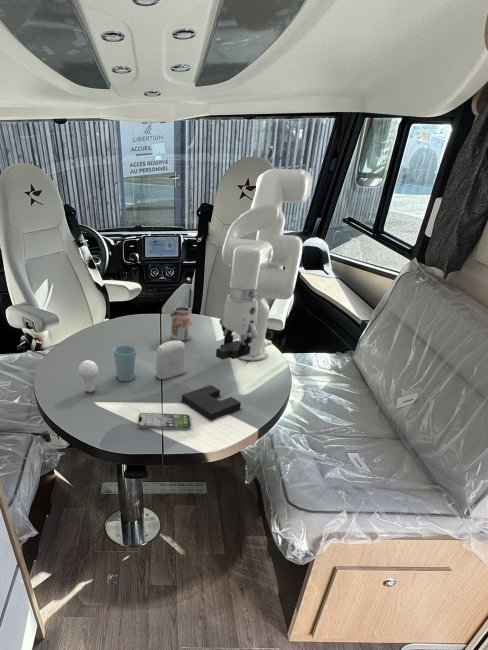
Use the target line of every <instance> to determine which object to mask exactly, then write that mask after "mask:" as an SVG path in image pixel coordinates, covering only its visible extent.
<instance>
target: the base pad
mask: <svg viewBox="0 0 488 650" xmlns="http://www.w3.org/2000/svg"><path fill="white" fill-rule="evenodd" d="M220 394H221V390H220V389H219V388H217V387H215V386H214V385H212V384H209V385H205V386H203V387H201V388H197V389H193V390H191V391H189V392H186V393H183V394H181V403H183V404H184V405H186V406H188V407H189V408H190V409H192V410H193V411H195V412H196V413H198V414H199V415H201V416H202V417H204V418H205V419H207V420H208V421H210V422H212V421H214V420H218V419H220V418H222V417H225V416H227V415H229V414H232V413H235V412H237V411H240V410H241V404H242V402H241V401H240V400H238V399H236V398H234V397H233V396H228V397H227V398H224V399H220V400H219V399H217V398H219V397H220V396H221V395H220Z"/></svg>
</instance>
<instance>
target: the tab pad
mask: <svg viewBox="0 0 488 650" xmlns="http://www.w3.org/2000/svg"><path fill="white" fill-rule="evenodd" d="M240 344H242V343H241V342H240V341H239V339H237V340H236V339H235V340H233V342H230V343H226V344H224V343H223V344H220V347H218V348H216V350H215V357H216V358H218V359H219V360H226V359H231V360H235V359H239V358H238V357H239V356H238V355H239V346H240ZM250 348H251V346H249V345H248V352H247V355H248V354H250Z"/></svg>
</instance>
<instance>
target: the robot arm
mask: <svg viewBox="0 0 488 650" xmlns="http://www.w3.org/2000/svg"><path fill="white" fill-rule="evenodd" d="M255 187H256V188H255V193H254V196H253V200H252V203H251V207H250V209H248V210H247V211H245V212H244V213H242V214H241V215H239V216H238V217H237V218H236V219H235V220H234V221H233V222H232V223H231V225H230V226H229V228H228V230H227V233H226V236H225V239H224V243H223V246H222V251H221V260H222V263H223V264H224V265H225V266H227V267H231V273H230V282H229V291H228V295H227V298H226V302H225V305H224V309H223V317H221V319H219V324H220V327H221V330H222V332H223V334H222V335H223V337H224V338H223V344H226V343H230V342H233V341H234V333H235V334H238V335H239V336H238V341H240V342H241V343H242V344H240V346H239V355H238V356H239V357H238V358H237V359H240V360H244V361H253V362H254V361H255V362H256V361H261V360H264V359H265V358H266V357H267V355H268V354H267V350H266V348H267V347H270V346H272V344H273V342H272V340H270V339H269V340H266V335H267V329H268V323H269V322H268V321H269V317H270V316H269V315H270V306H269V303H268V302H267V299H276V300H288V299H290V298H291V297H292V296H293V294H294V291H295V288H296V284H297V279H298V274H299V269H300V264H301V260H302V254H303V246H304V245H303V240H302V238H301V237H300V236H297V235H293V234H284V231H285V230H284V229H285V225H286V216H285V213H284V211H283V210H282V205H283V203H287V204H288V203H289V204H304V203H306V201H307V200H309V197H310V195H311V192H312V187H313V177H312V174H311V172H309V171H307V170H304V169H298V168H297V169H295V168H294V169H291V168H290V169H289V168H272V169H271V168H270V169H268V170H266V171H264V172H263V173H261V174H259V176H258V177H257V179H256V185H255ZM256 232H257V233H256ZM252 233H256V236H255V239H248V238H247V239H246V238H243V237H245V236H247V235H249V234H252ZM269 265H272V266H280V267H284V269H281V268H273V267H268V266H269ZM248 345H249V346H251V348H250V354H248V355H247V352H248Z"/></svg>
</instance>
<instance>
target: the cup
mask: <svg viewBox="0 0 488 650" xmlns="http://www.w3.org/2000/svg"><path fill="white" fill-rule="evenodd" d="M113 357H114V363H115V369H116V375H117V379H118V380H119V381H121V382H130V381H132V380H134V378H135V369H136V357H137V348H136V347H134V346H133V345H126V344H125V345H118V346H115V347H114V348H113Z"/></svg>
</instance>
